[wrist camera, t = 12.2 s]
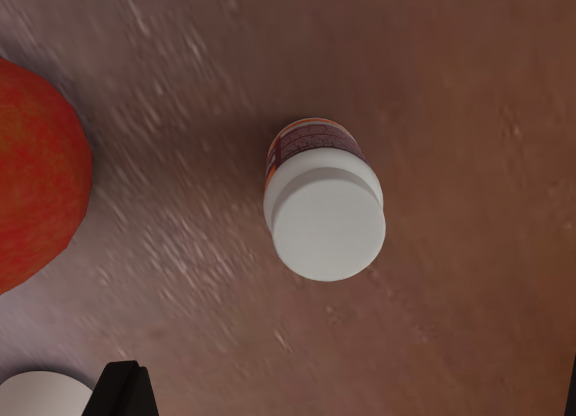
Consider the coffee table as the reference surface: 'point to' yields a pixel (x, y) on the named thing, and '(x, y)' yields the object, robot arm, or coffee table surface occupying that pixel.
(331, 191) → the pill bottle
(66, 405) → the can
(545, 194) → the coffee table surface
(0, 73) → the apple
